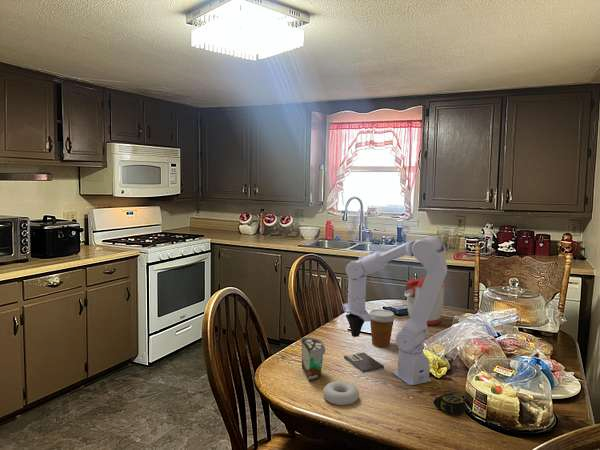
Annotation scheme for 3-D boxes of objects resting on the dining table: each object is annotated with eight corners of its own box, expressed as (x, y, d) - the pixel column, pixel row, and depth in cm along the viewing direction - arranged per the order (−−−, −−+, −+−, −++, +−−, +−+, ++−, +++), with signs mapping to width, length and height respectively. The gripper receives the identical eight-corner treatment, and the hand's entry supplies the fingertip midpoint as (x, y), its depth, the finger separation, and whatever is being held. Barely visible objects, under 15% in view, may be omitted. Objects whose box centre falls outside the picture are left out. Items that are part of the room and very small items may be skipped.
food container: (329, 382, 135) (330, 349, 134) (309, 383, 134) (310, 351, 133) (319, 365, 147) (319, 335, 146) (300, 366, 146) (301, 336, 145)
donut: (365, 398, 126) (336, 386, 133) (366, 386, 126) (336, 375, 132) (345, 412, 119) (315, 399, 125) (346, 399, 118) (315, 387, 125)
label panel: (383, 368, 146) (383, 365, 145) (362, 372, 142) (362, 368, 142) (363, 354, 156) (364, 351, 156) (343, 358, 153) (343, 354, 153)
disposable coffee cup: (366, 347, 163) (367, 315, 162) (368, 338, 172) (370, 308, 171) (393, 350, 161) (394, 317, 159) (394, 341, 170) (395, 310, 168)
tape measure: (450, 402, 125) (450, 389, 124) (470, 413, 119) (471, 400, 118) (432, 408, 121) (433, 395, 121) (453, 420, 115) (454, 406, 115)
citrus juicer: (395, 317, 199) (397, 272, 196) (429, 314, 204) (431, 271, 202) (414, 329, 184) (416, 281, 182) (450, 325, 189) (453, 278, 187)
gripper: (335, 292, 154) (334, 330, 155) (357, 303, 141) (356, 345, 142) (353, 290, 157) (352, 328, 158) (376, 301, 144) (375, 342, 145)
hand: (355, 336), depth 151 cm, fingers closed
